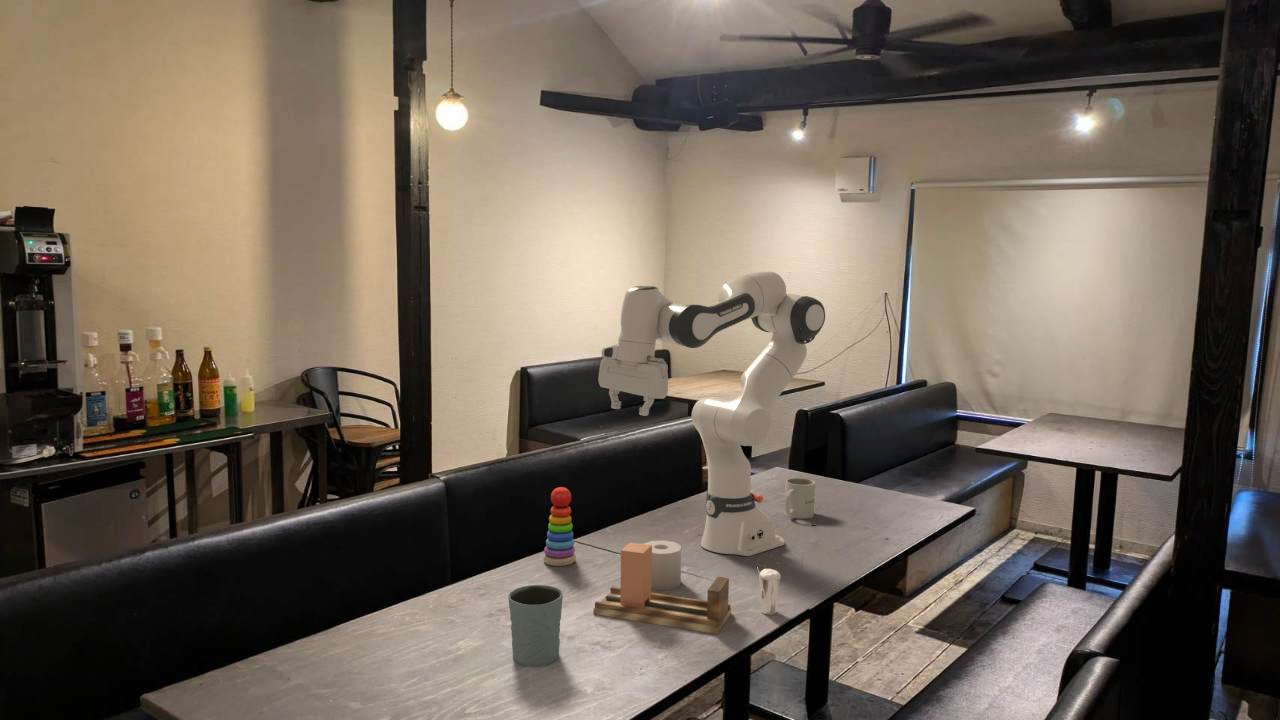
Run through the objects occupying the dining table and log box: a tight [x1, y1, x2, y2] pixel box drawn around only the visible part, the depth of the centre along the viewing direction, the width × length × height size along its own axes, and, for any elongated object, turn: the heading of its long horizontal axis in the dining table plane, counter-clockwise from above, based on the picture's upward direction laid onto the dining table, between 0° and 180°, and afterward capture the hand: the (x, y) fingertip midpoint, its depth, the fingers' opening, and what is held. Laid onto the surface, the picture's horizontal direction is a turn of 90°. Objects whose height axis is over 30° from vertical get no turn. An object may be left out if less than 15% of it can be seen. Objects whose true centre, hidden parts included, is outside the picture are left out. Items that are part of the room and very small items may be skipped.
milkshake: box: [757, 567, 782, 616], centre depth 178 cm, size 4×5×10 cm
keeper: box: [620, 541, 652, 609], centre depth 178 cm, size 5×6×12 cm
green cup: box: [508, 584, 564, 668], centre depth 157 cm, size 10×10×12 cm
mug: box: [784, 477, 816, 520], centre depth 249 cm, size 12×9×10 cm
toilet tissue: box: [643, 539, 682, 592], centre depth 194 cm, size 9×13×9 cm
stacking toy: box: [543, 486, 577, 567], centre depth 207 cm, size 8×8×19 cm
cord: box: [605, 594, 707, 615], centre depth 177 cm, size 24×1×1 cm, turn 70°
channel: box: [593, 576, 732, 635], centre depth 177 cm, size 27×11×8 cm, turn 70°
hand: (629, 411), depth 198 cm, fingers open, 8 cm apart
